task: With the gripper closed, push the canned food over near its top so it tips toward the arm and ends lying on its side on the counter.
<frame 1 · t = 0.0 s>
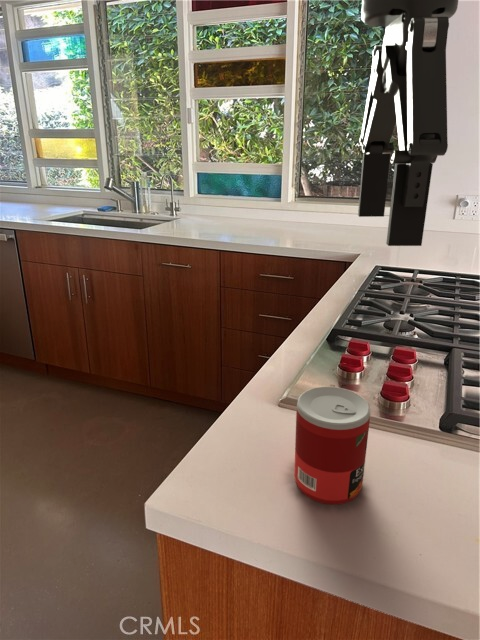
hand: (384, 228, 45), 30 cm above the countertop, tool pointing down, fingers open, 13 cm apart
canned food: (327, 483, 55), on the countertop
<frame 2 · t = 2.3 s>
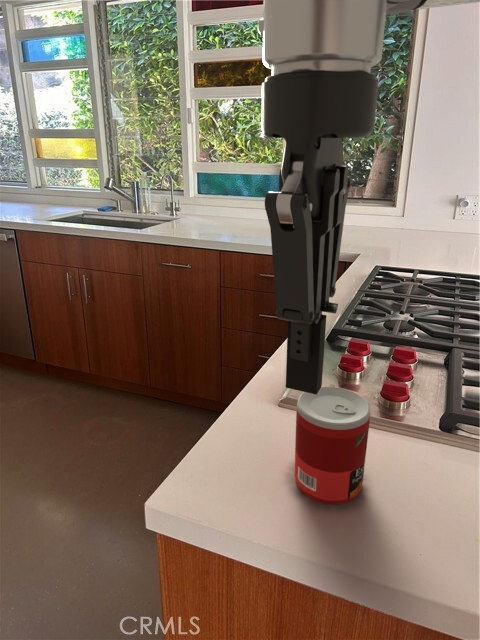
hand: (303, 386, 39), 19 cm above the countertop, tool pointing down, fingers closed
nothing on the countertop moved.
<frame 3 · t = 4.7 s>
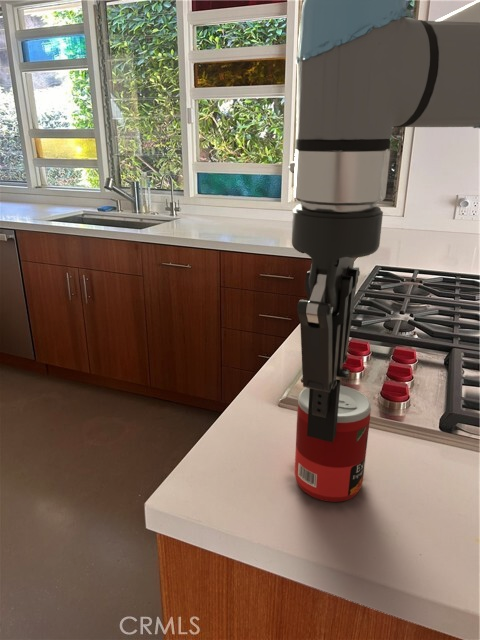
hand: (321, 435, 48), 10 cm above the countertop, tool pointing down, fingers closed
nothing on the countertop moved.
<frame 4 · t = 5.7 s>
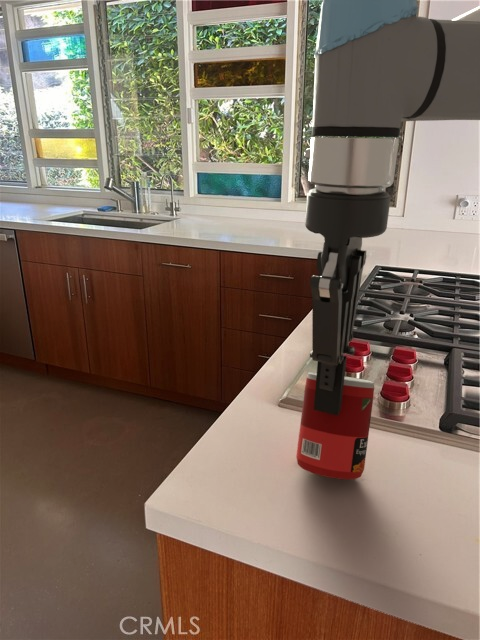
hand: (327, 409, 51), 10 cm above the countertop, tool pointing down, fingers closed
canned food: (328, 471, 55), point 1 cm above the countertop, touching gripper
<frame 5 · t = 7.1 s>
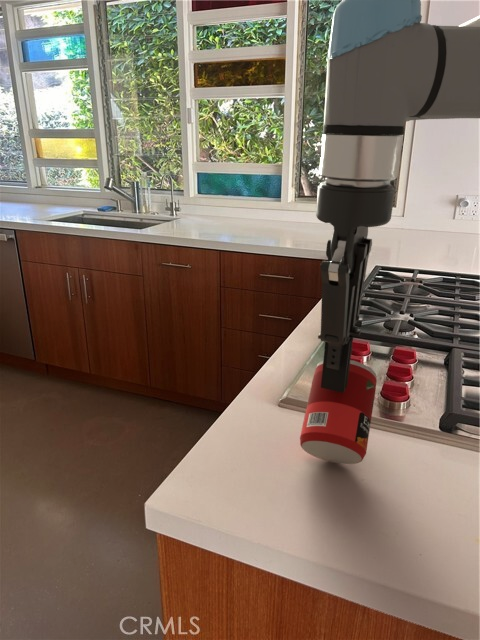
hand: (334, 386, 55), 10 cm above the countertop, tool pointing down, fingers closed
canned food: (330, 454, 55), point 3 cm above the countertop, touching gripper
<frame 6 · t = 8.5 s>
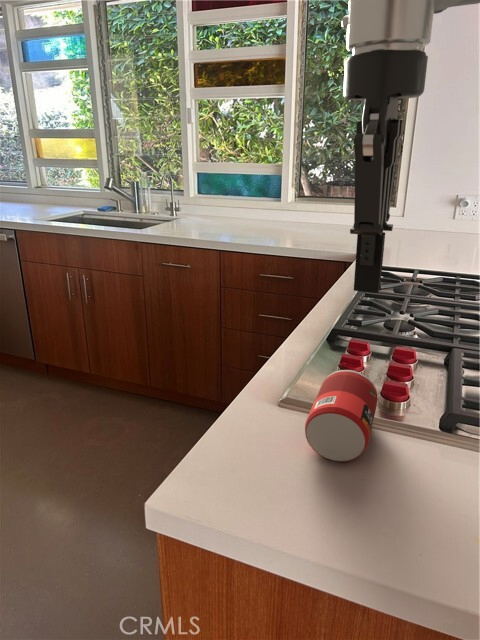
hand: (366, 289, 53), 22 cm above the countertop, tool pointing down, fingers closed
canned food: (334, 438, 57), point 4 cm above the countertop
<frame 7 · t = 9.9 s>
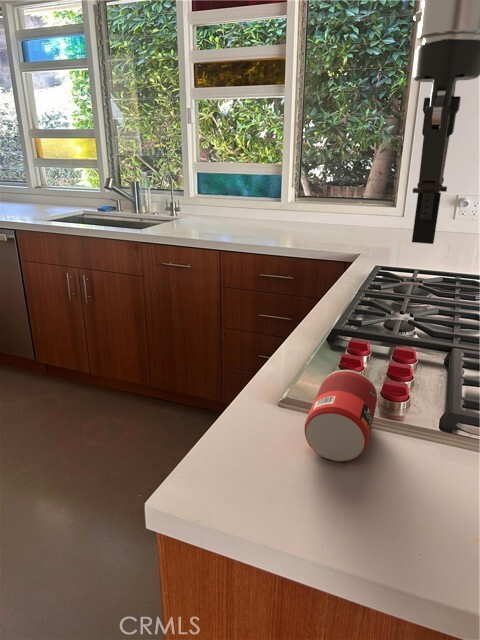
hand: (422, 241, 63), 24 cm above the countertop, tool pointing down, fingers closed
nothing on the countertop moved.
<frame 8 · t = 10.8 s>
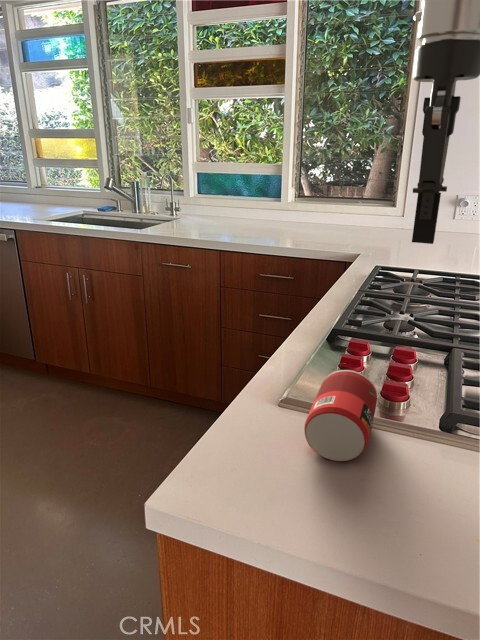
hand: (422, 241, 63), 24 cm above the countertop, tool pointing down, fingers closed
nothing on the countertop moved.
at the end: canned food tilted 90°; canned food inside the target area (2.3 cm from its centre), point 3.8 cm above the countertop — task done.
